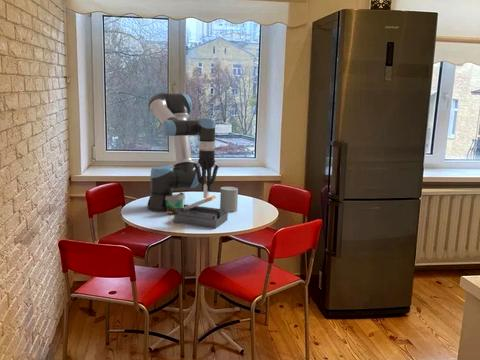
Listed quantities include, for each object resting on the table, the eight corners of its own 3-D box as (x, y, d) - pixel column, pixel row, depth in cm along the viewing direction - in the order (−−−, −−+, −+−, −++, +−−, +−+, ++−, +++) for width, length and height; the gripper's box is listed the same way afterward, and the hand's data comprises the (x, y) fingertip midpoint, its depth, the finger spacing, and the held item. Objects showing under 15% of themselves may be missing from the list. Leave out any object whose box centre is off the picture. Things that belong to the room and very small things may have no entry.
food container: (174, 216, 243) (174, 197, 241) (165, 214, 246) (165, 195, 244) (189, 211, 253) (189, 193, 251) (180, 210, 256) (180, 191, 254)
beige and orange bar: (181, 211, 236) (180, 209, 236) (185, 209, 241) (184, 206, 241) (212, 200, 230) (211, 197, 230) (216, 197, 234) (214, 195, 234)
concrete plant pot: (235, 213, 254) (236, 190, 251) (217, 211, 256) (218, 189, 253) (238, 209, 263) (239, 187, 260) (222, 207, 265) (222, 185, 262)
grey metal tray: (173, 222, 233) (174, 208, 231) (187, 214, 247) (188, 201, 246) (215, 228, 226) (216, 214, 224) (227, 220, 241) (227, 206, 239)
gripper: (191, 149, 227) (190, 197, 232) (216, 151, 223) (215, 200, 228) (197, 148, 234) (196, 194, 239) (222, 149, 230) (221, 197, 235)
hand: (206, 197), depth 233 cm, fingers closed
